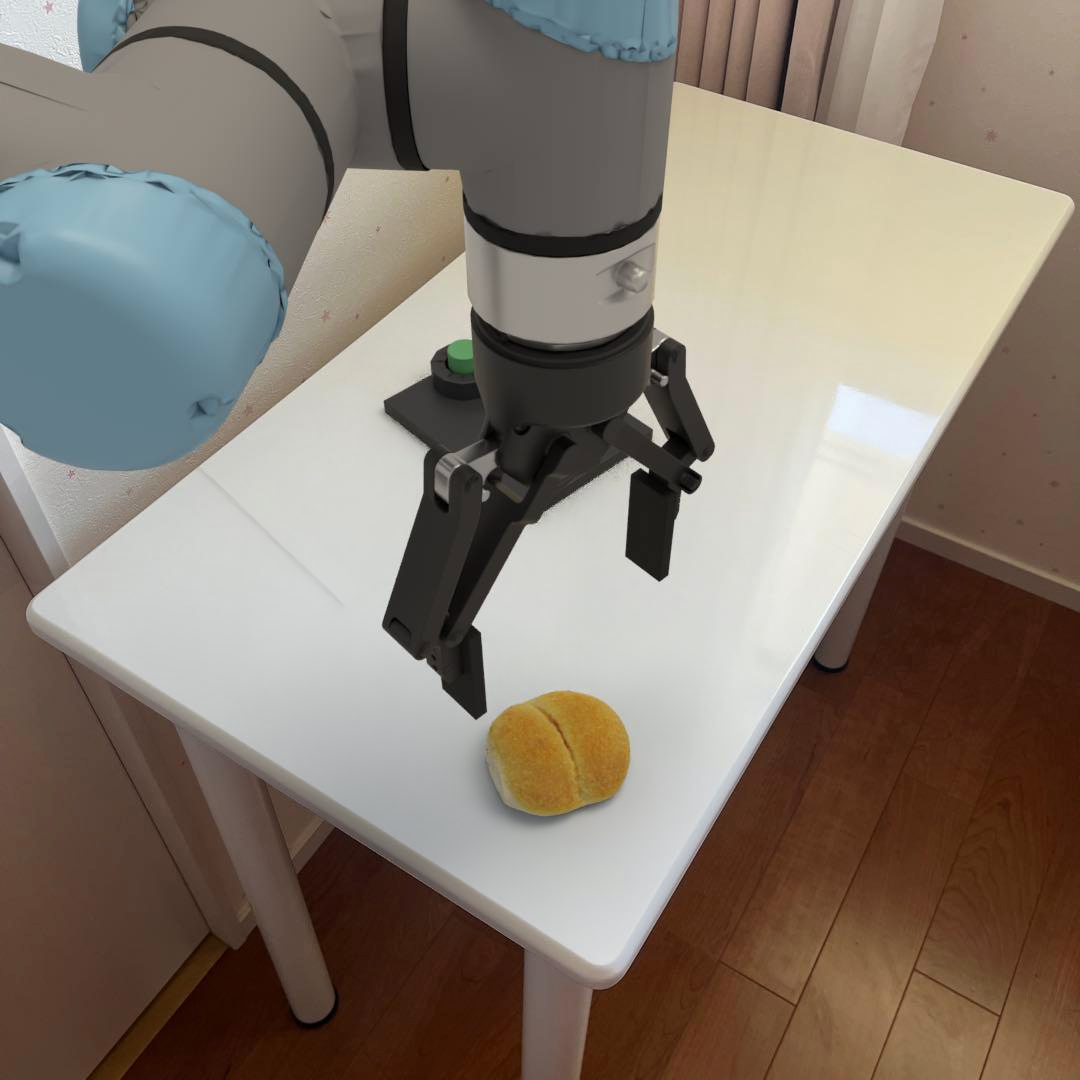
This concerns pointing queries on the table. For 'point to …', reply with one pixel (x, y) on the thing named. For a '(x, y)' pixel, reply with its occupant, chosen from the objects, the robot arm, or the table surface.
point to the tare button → (461, 357)
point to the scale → (471, 419)
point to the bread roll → (557, 753)
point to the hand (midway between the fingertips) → (560, 630)
